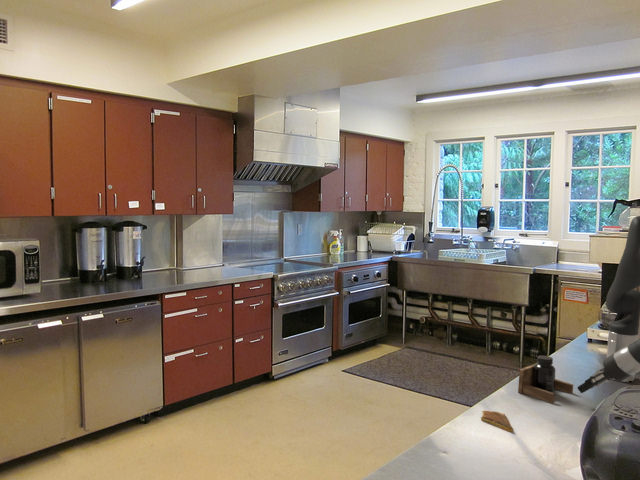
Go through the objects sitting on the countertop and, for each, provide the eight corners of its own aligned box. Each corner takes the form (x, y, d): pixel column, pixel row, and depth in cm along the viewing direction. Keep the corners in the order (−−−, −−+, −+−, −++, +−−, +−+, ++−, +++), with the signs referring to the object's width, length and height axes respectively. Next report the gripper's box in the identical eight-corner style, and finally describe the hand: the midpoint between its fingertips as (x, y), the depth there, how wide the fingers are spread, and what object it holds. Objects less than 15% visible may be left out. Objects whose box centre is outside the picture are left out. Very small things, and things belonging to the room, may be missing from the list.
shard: (513, 434, 139) (513, 428, 139) (485, 432, 140) (485, 426, 140) (504, 417, 150) (505, 412, 150) (478, 415, 151) (478, 409, 151)
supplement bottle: (553, 390, 172) (555, 355, 171) (555, 397, 166) (557, 362, 164) (531, 386, 174) (533, 353, 173) (532, 394, 168) (534, 359, 167)
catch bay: (541, 382, 179) (543, 360, 178) (573, 392, 170) (575, 369, 169) (518, 392, 169) (519, 369, 168) (550, 403, 160) (552, 379, 159)
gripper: (624, 348, 156) (581, 375, 166) (606, 355, 148) (562, 383, 158) (642, 370, 152) (597, 396, 163) (624, 378, 144) (578, 405, 154)
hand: (580, 390), depth 160 cm, fingers closed
